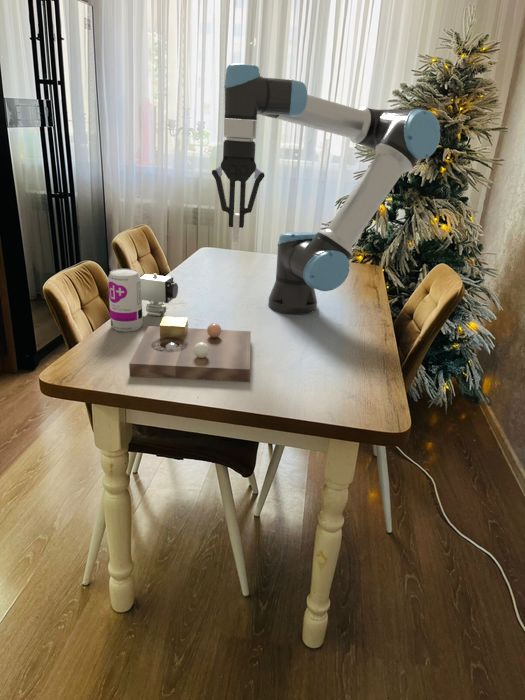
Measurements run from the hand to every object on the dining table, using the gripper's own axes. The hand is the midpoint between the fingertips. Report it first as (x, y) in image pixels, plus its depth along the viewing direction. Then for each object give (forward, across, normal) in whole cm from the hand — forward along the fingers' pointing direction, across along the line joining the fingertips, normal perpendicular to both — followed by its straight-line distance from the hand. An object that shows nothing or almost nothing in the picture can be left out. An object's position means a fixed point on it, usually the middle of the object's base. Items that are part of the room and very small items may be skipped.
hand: (235, 240), depth 128 cm
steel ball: (+23, +14, +19) cm, 33 cm away
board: (+24, +8, +19) cm, 32 cm away
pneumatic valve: (+25, +22, -9) cm, 34 cm away
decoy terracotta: (+20, +4, +13) cm, 24 cm away
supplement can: (+25, +28, +2) cm, 37 cm away
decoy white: (+20, +6, +25) cm, 32 cm away
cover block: (+21, +14, +12) cm, 28 cm away
